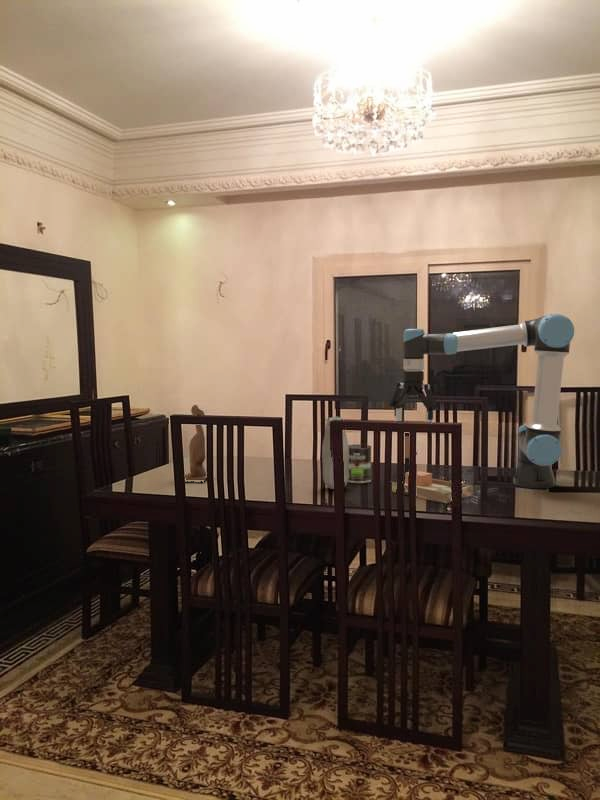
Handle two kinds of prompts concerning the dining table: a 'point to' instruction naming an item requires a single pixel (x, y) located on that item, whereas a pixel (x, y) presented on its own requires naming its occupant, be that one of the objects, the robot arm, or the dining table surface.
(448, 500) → the trap lane
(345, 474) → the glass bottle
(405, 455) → the travel mug
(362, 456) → the coffee can
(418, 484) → the block
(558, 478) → the dining table surface
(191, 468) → the bird sculpture
